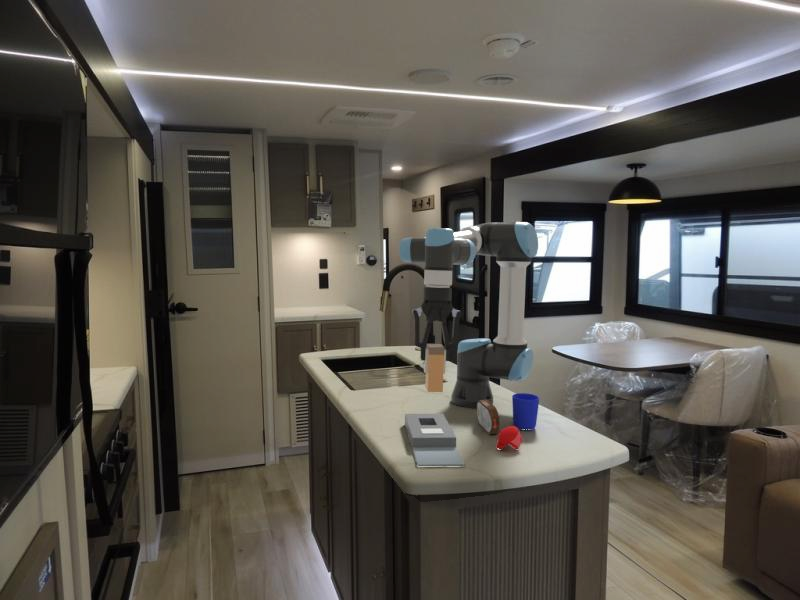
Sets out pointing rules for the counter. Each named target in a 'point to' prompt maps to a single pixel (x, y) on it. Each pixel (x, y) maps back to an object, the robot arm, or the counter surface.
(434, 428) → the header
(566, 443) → the counter surface
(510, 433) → the cap
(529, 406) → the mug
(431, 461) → the mat
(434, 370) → the plug
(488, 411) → the tin
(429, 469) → the counter surface
